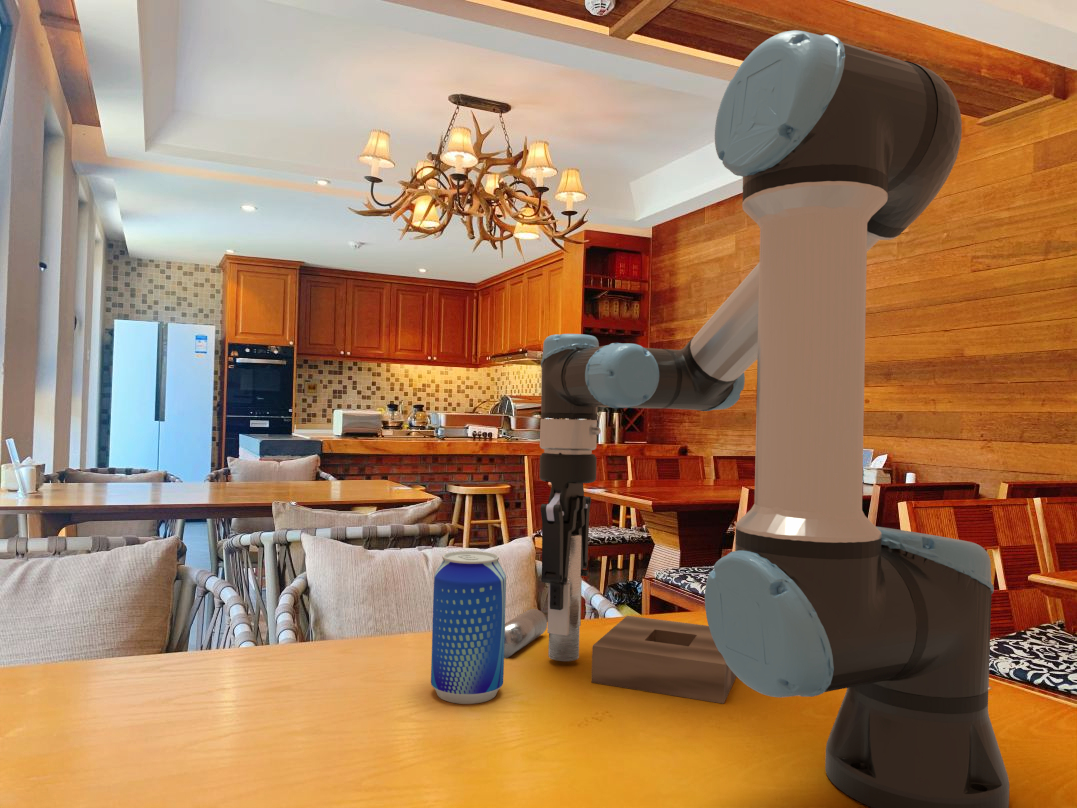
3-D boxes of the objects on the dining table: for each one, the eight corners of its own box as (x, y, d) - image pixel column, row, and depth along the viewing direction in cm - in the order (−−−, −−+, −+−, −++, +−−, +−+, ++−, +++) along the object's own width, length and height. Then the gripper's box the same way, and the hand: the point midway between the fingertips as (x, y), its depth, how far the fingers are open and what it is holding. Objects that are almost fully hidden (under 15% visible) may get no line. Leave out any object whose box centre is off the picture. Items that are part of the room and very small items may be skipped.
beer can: (507, 683, 97) (511, 551, 97) (497, 709, 89) (501, 564, 89) (439, 678, 98) (443, 548, 98) (422, 704, 90) (426, 560, 90)
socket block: (723, 703, 92) (724, 664, 92) (591, 682, 98) (592, 645, 98) (742, 663, 107) (743, 630, 107) (626, 647, 113) (627, 615, 113)
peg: (573, 662, 103) (575, 538, 103) (544, 658, 105) (546, 535, 105) (582, 654, 107) (585, 534, 107) (554, 650, 108) (557, 532, 108)
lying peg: (487, 656, 108) (514, 660, 106) (487, 626, 108) (515, 630, 106) (521, 634, 119) (546, 637, 117) (522, 607, 119) (547, 610, 118)
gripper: (574, 455, 97) (569, 649, 96) (613, 450, 113) (610, 618, 112) (516, 453, 100) (512, 642, 99) (563, 449, 115) (559, 612, 115)
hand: (564, 628), depth 106 cm, fingers closed on peg, 4 cm apart
